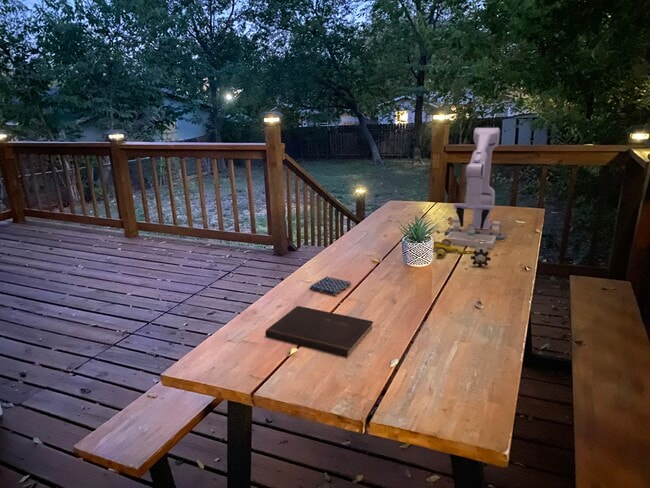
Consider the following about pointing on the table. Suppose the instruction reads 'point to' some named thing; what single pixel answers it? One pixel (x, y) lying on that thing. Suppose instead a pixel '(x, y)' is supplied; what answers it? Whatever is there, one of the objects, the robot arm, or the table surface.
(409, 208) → the table surface
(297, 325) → the hardcover book
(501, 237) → the holder
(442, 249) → the sprinkler
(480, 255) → the valve
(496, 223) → the cylinder
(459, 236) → the tray
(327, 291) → the woven mat
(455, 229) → the cartridge
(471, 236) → the marked cartridge
